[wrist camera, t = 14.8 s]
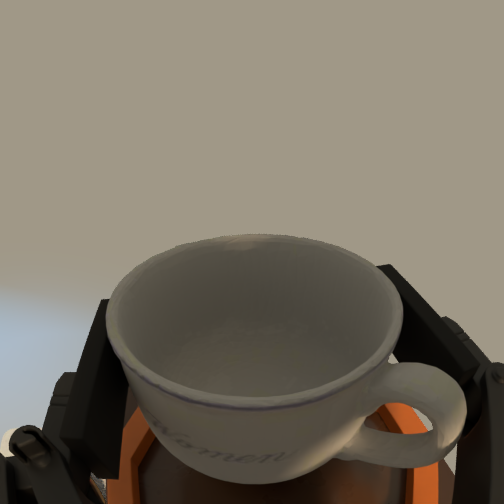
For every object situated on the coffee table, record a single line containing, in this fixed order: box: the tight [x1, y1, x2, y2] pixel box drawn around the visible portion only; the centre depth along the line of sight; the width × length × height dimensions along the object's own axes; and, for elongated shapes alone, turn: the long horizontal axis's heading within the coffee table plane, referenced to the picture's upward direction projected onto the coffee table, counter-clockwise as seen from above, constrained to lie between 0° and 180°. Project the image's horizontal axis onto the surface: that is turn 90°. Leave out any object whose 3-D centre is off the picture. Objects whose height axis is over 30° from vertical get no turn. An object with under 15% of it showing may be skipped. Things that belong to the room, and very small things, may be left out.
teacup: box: [105, 234, 467, 484], centre depth 12 cm, size 14×11×8 cm
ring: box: [107, 403, 438, 504], centre depth 13 cm, size 17×17×1 cm
